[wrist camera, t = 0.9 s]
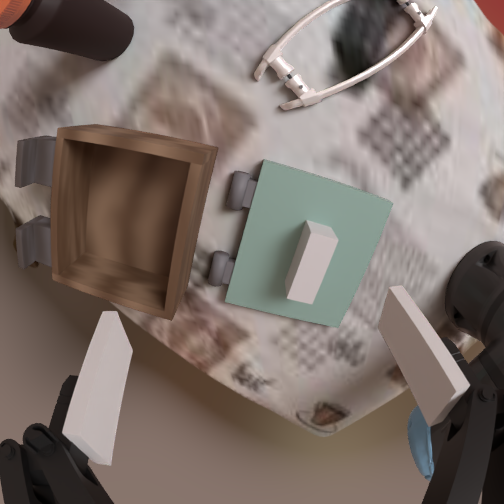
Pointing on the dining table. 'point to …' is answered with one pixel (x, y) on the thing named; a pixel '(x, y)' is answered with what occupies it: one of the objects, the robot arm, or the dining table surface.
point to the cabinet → (116, 212)
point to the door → (299, 244)
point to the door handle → (311, 96)
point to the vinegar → (69, 26)
